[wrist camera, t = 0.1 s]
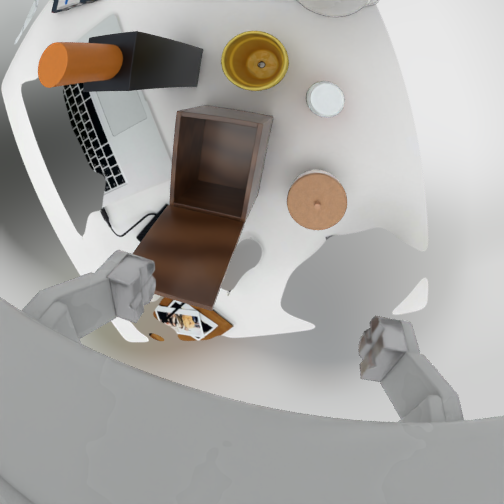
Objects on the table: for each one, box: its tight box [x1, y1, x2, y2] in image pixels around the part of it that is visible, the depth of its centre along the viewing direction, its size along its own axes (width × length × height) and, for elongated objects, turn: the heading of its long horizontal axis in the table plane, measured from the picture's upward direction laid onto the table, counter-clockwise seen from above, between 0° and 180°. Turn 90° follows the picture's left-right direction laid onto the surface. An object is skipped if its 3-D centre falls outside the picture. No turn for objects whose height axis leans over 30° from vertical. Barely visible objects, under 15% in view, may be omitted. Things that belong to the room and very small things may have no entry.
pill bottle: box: [306, 81, 345, 117], centre depth 41 cm, size 6×6×11 cm
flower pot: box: [221, 31, 289, 91], centre depth 41 cm, size 10×10×10 cm
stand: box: [83, 31, 203, 92], centre depth 37 cm, size 8×8×24 cm
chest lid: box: [133, 205, 244, 311], centre depth 41 cm, size 18×14×1 cm
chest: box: [170, 105, 273, 223], centre depth 49 cm, size 17×14×13 cm
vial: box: [38, 42, 123, 88], centre depth 23 cm, size 5×5×10 cm
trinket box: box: [287, 170, 347, 230], centre depth 52 cm, size 11×11×9 cm
